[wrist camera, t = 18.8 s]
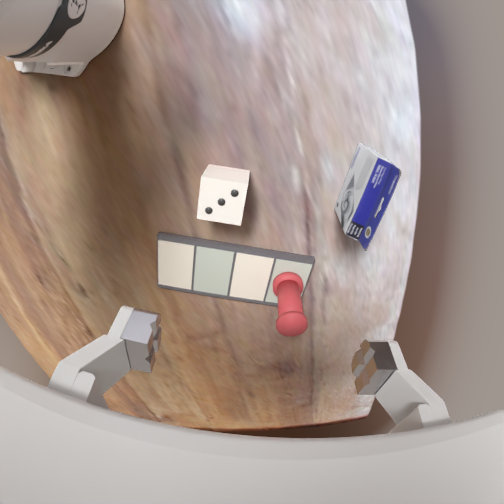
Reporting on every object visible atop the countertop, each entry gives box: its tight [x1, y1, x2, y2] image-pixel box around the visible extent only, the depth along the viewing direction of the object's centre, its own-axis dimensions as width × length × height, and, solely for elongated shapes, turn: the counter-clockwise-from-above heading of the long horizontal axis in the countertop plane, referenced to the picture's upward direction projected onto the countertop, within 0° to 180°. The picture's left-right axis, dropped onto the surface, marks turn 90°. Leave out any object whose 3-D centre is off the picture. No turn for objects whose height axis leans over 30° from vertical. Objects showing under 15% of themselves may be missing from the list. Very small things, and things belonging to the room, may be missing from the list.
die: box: [197, 164, 250, 226], centre depth 41 cm, size 6×6×6 cm
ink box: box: [334, 143, 401, 251], centre depth 37 cm, size 12×2×12 cm, turn 166°
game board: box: [157, 232, 315, 306], centre depth 51 cm, size 26×11×1 cm, turn 80°
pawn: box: [273, 272, 308, 336], centre depth 47 cm, size 5×5×10 cm
